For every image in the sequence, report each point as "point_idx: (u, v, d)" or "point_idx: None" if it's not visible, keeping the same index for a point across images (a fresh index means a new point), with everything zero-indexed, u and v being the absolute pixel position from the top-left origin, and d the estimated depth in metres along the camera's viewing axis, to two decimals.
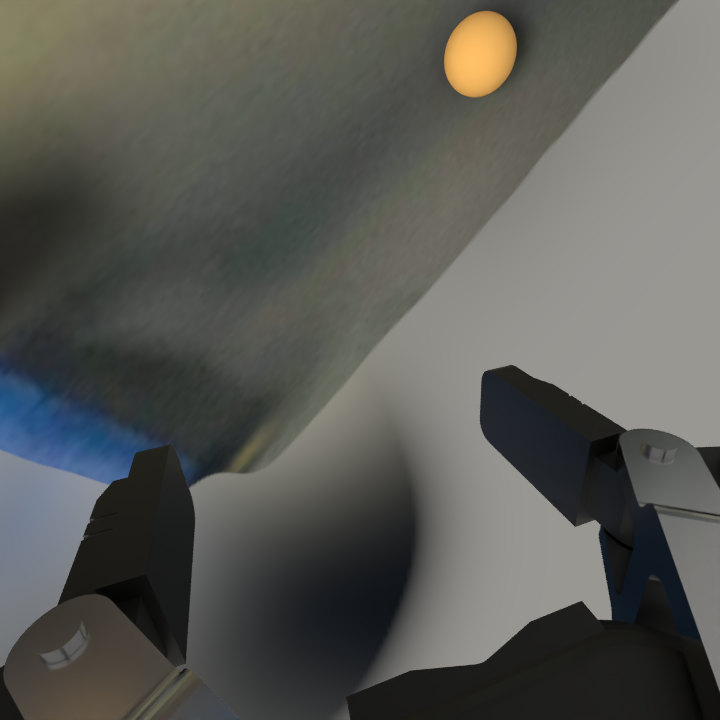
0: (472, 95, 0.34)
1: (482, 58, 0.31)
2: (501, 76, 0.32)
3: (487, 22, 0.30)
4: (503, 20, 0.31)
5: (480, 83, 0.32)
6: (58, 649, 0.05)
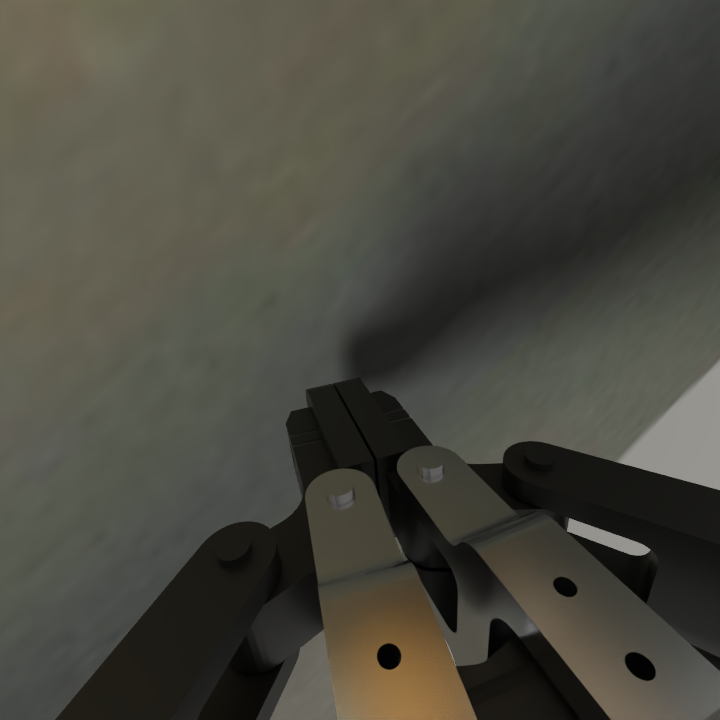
0: None
1: None
2: None
3: None
4: None
5: None
6: (336, 496, 0.07)
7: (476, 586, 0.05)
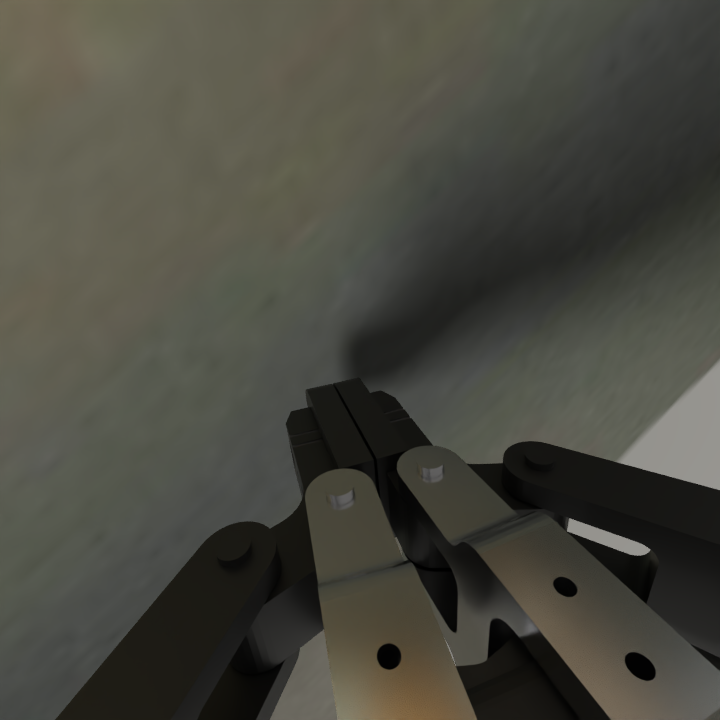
0: None
1: None
2: None
3: None
4: None
5: None
6: (336, 496, 0.07)
7: (476, 586, 0.05)
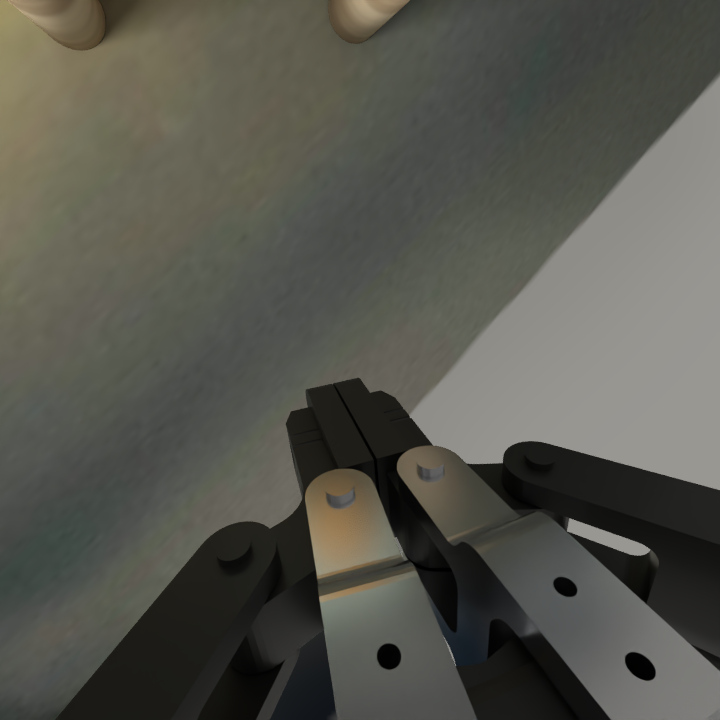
0: None
1: None
2: None
3: None
4: None
5: None
6: (336, 496, 0.07)
7: (476, 586, 0.05)
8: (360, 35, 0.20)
